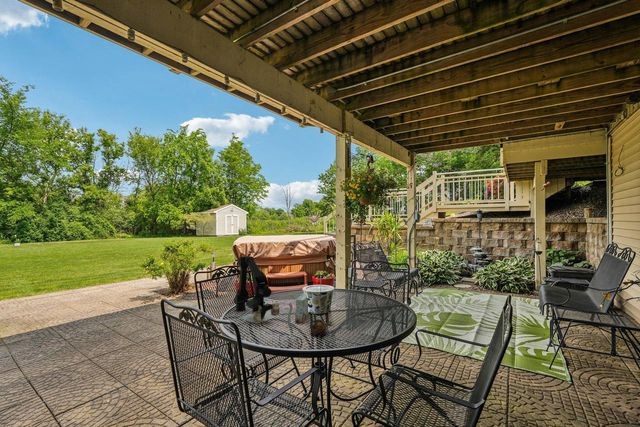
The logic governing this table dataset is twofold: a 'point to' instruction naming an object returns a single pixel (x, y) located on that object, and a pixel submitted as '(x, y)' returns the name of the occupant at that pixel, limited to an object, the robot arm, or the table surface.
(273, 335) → the table surface
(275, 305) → the tower
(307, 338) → the table surface
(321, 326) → the decorative turtle
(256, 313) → the maple block
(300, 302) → the snack box
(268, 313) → the board
